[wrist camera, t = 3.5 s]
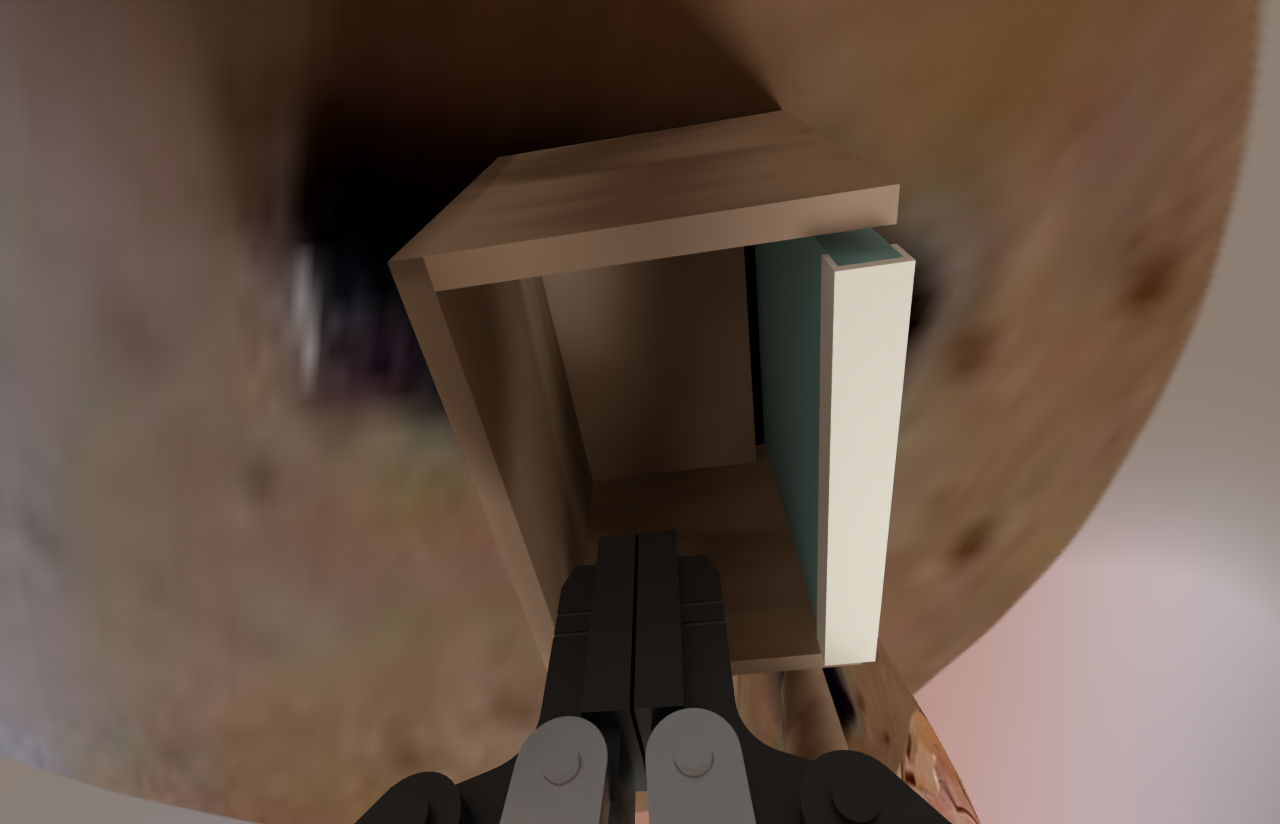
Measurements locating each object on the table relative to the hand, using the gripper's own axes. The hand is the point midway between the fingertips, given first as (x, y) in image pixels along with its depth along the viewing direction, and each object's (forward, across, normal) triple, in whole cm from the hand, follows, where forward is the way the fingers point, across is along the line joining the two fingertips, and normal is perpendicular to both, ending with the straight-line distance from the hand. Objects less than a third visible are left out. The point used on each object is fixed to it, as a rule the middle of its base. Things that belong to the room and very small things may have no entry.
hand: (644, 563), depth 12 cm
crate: (+10, -1, 0) cm, 10 cm away
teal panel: (+10, -5, 0) cm, 11 cm away
